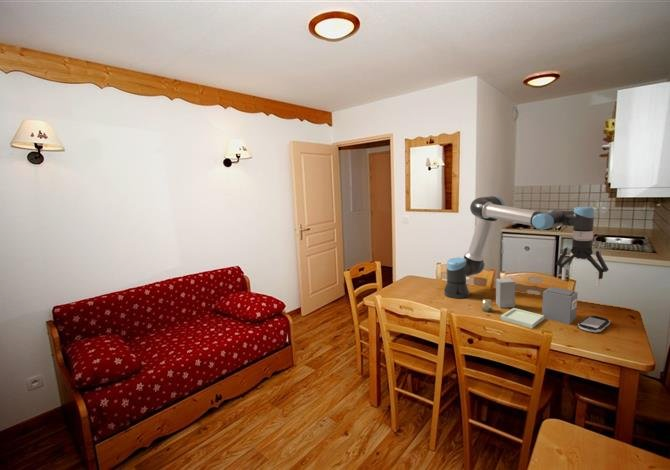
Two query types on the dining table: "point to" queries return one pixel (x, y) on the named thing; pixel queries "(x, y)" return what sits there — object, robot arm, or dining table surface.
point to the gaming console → (593, 324)
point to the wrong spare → (486, 305)
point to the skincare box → (505, 293)
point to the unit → (559, 305)
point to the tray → (522, 317)
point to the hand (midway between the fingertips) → (579, 282)
